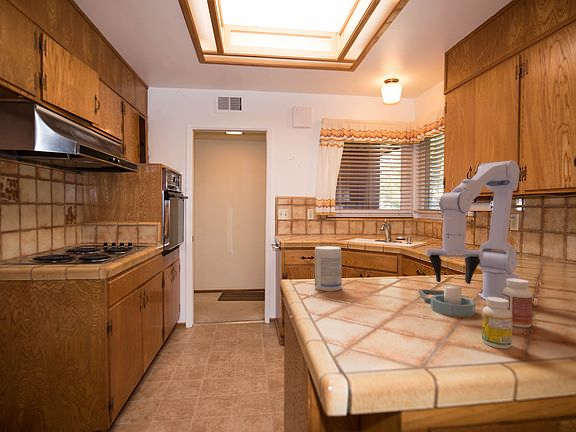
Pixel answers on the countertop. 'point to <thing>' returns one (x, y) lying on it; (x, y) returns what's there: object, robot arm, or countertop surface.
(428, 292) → the empty gray rectangular frame
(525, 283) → the pill bottle
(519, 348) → the countertop surface
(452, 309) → the bowl
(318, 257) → the supplement tub
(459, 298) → the pestle
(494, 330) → the supplement bottle
